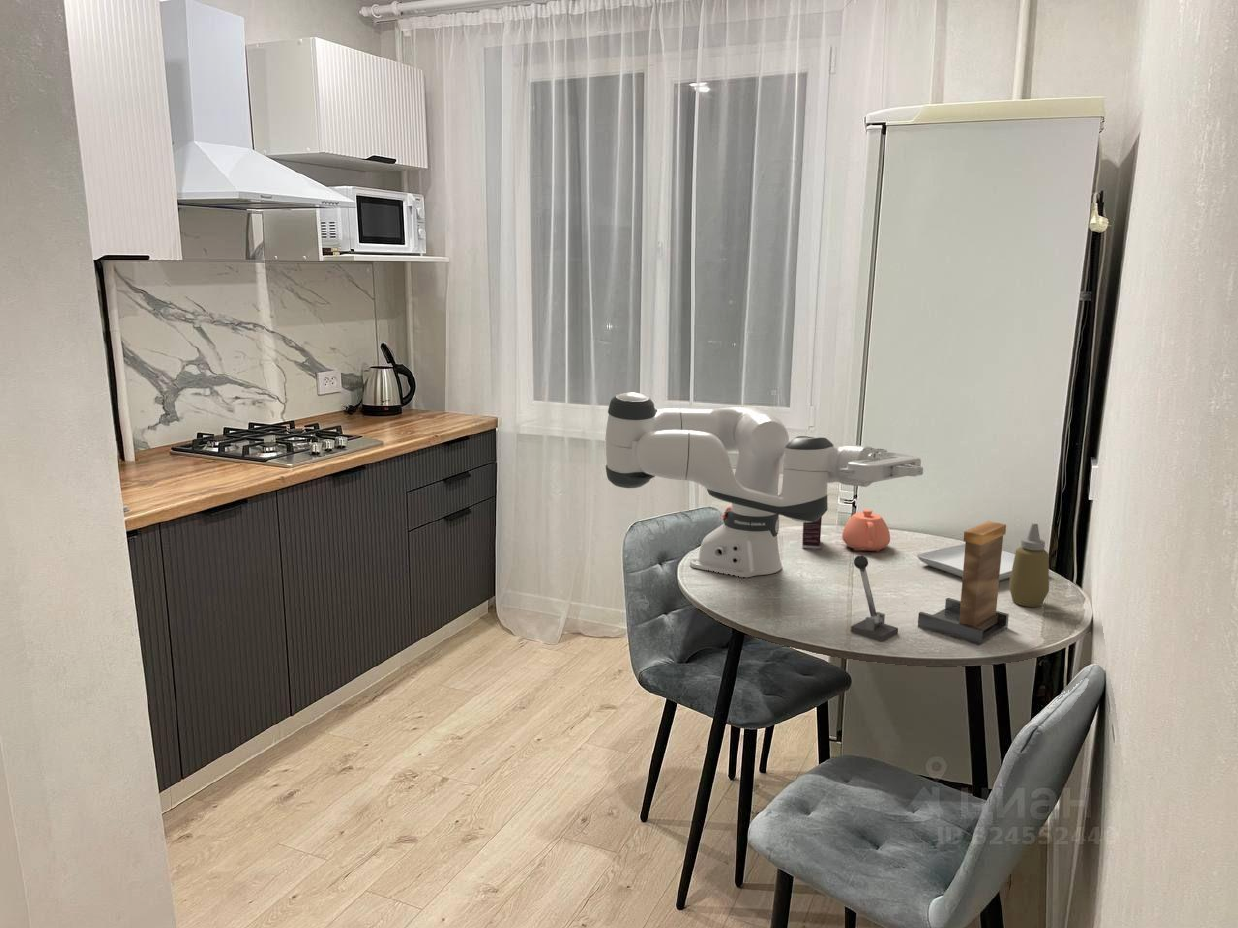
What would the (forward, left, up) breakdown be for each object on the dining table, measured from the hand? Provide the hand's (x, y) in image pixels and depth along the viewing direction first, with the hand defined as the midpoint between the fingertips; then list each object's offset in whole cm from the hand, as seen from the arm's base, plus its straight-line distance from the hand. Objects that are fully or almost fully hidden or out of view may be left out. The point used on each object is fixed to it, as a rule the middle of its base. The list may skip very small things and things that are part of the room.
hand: (919, 471), depth 183 cm
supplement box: (-29, +41, -31) cm, 59 cm away
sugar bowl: (-15, +43, -31) cm, 55 cm away
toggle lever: (-6, -14, -28) cm, 32 cm away
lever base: (-6, -14, -31) cm, 34 cm away
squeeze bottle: (+23, +15, -31) cm, 42 cm away
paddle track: (+11, -5, -31) cm, 33 cm away
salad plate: (+13, +35, -31) cm, 49 cm away
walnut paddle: (+13, -6, -30) cm, 33 cm away
